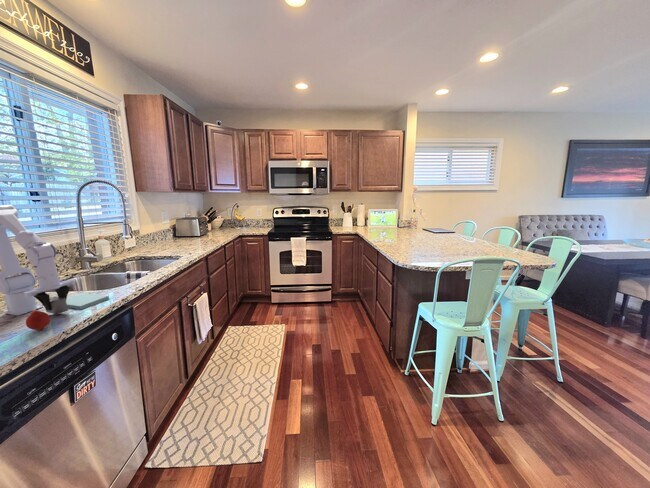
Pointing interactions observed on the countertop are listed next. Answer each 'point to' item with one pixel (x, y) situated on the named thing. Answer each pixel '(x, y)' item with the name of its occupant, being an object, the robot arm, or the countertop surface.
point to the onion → (37, 320)
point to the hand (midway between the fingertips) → (56, 307)
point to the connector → (57, 305)
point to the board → (84, 300)
